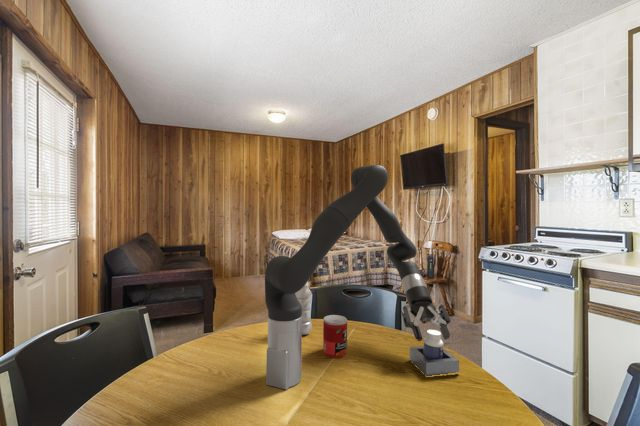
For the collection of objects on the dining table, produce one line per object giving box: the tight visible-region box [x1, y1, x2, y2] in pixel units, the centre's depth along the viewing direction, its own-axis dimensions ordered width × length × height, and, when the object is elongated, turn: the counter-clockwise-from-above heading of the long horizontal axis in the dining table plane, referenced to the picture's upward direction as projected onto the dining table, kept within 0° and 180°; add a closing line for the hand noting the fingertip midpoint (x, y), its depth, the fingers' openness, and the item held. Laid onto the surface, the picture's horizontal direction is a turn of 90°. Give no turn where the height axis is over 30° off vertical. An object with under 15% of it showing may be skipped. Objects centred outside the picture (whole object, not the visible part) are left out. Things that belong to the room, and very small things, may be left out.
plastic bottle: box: [295, 281, 313, 336], centre depth 112 cm, size 6×7×20 cm
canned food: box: [322, 314, 348, 359], centre depth 97 cm, size 8×8×11 cm
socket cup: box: [409, 345, 460, 376], centre depth 88 cm, size 10×10×4 cm
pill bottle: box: [423, 329, 444, 360], centre depth 88 cm, size 5×5×10 cm
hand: (433, 339), depth 88 cm, fingers open, 8 cm apart
